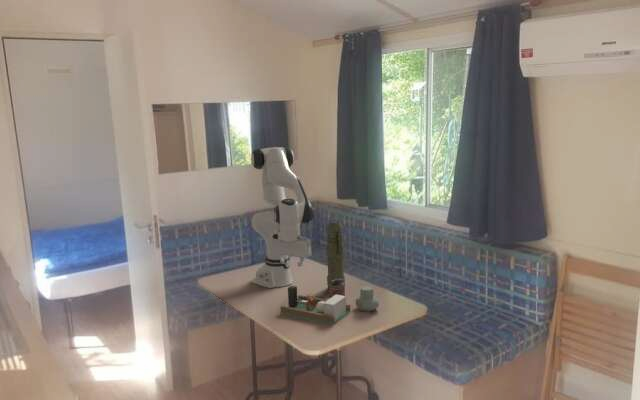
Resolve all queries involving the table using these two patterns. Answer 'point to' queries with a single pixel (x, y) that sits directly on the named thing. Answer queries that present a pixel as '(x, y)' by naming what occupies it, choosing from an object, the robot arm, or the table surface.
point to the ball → (320, 306)
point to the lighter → (336, 288)
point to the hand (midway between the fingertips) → (291, 264)
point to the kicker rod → (294, 301)
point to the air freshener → (366, 299)
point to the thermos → (335, 252)
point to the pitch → (331, 315)
